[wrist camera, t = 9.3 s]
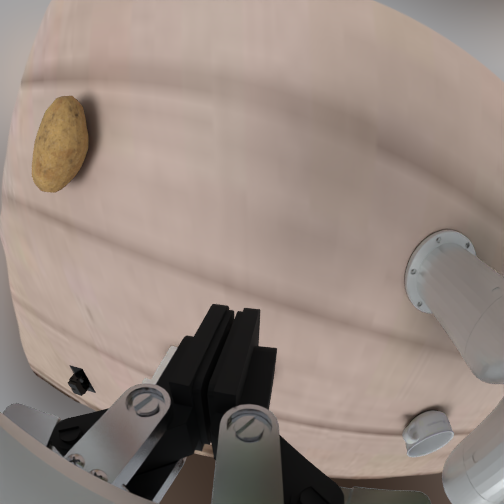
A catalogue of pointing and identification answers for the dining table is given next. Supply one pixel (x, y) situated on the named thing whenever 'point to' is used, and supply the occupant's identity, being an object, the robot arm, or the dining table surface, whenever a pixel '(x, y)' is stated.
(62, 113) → the potato
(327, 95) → the dining table surface
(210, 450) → the stopper
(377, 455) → the dining table surface
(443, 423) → the teacup
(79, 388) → the black angular piece
